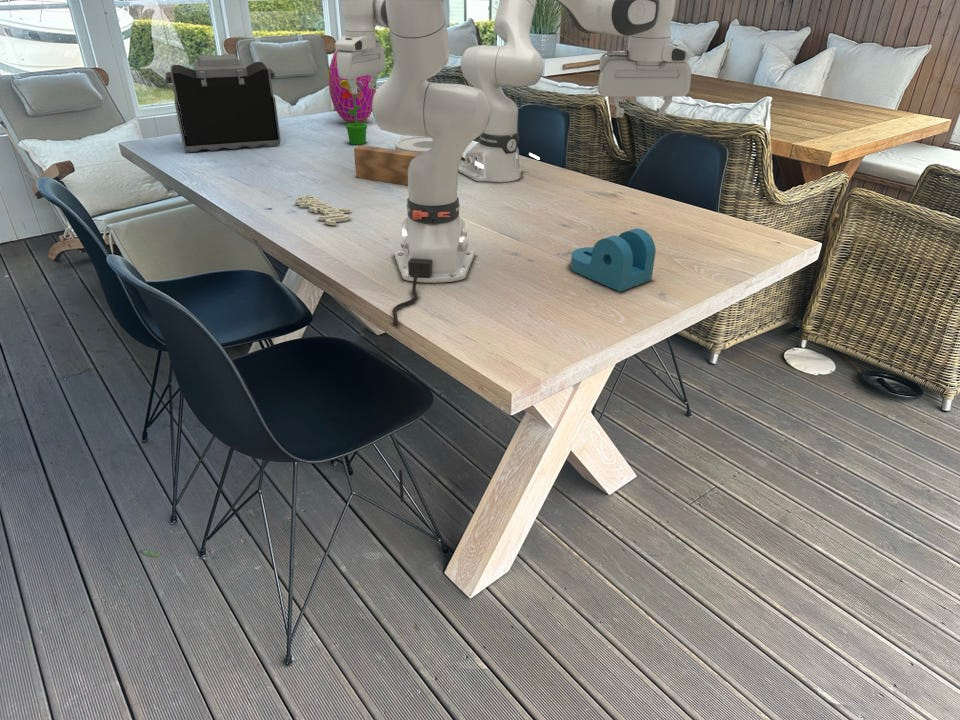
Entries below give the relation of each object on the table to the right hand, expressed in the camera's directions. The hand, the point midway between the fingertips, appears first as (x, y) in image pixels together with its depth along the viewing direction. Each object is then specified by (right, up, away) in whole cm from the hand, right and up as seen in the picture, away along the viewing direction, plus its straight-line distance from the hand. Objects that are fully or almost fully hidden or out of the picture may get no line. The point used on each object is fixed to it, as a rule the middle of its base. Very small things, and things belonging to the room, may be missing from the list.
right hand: (364, 91), depth 209 cm
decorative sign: (-8, -40, -16) cm, 44 cm away
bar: (+8, -25, +10) cm, 28 cm away
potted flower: (-11, +1, +53) cm, 54 cm away
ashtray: (+16, -8, +39) cm, 43 cm away
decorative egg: (-18, +19, +84) cm, 89 cm away
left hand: (+72, -26, -52) cm, 93 cm away
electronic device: (-58, 0, +50) cm, 77 cm away
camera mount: (+64, -62, -52) cm, 103 cm away
